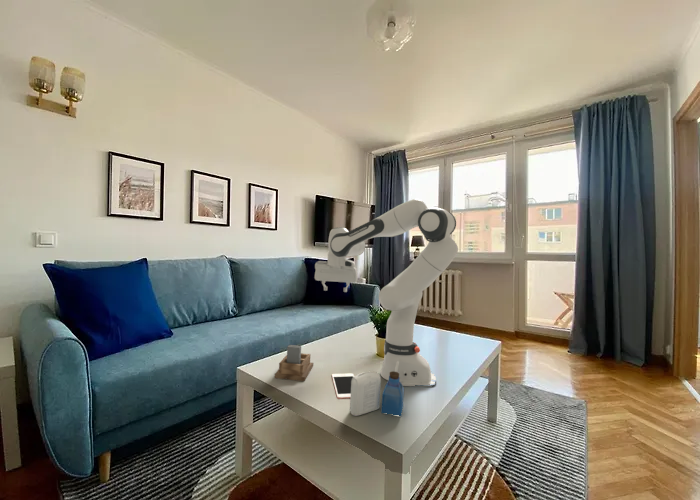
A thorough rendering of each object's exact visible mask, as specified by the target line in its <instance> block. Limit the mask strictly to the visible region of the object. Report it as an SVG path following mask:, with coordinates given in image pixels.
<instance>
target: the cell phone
mask: <svg viewBox="0 0 700 500" xmlns="http://www.w3.org/2000/svg"><path fill="white" fill-rule="evenodd" d="M354 376H355V375H354V373H332V374H331V378H332V382H333V386H334V391H335V394H336V398H337V399H338V400H339V399H341V400H343V399H350V397H351V381H352V378H353V377H354Z"/></svg>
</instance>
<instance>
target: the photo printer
mask: <svg viewBox="0 0 700 500" xmlns="http://www.w3.org/2000/svg"><path fill="white" fill-rule="evenodd" d="M381 379H382V378H381V374H380V372H378V371H374V370H369V371H367V370H366V371H363V372H360V373H358V374H356V375H354V377H353V378H352V381H351V397H350V398H349V412H350V414H351V415H352V416H355V417H358V416H362V415H365V414H367V413H370V412H374V411H377V410H378V409H379V408H380V396H381V395H380V394H381Z"/></svg>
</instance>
